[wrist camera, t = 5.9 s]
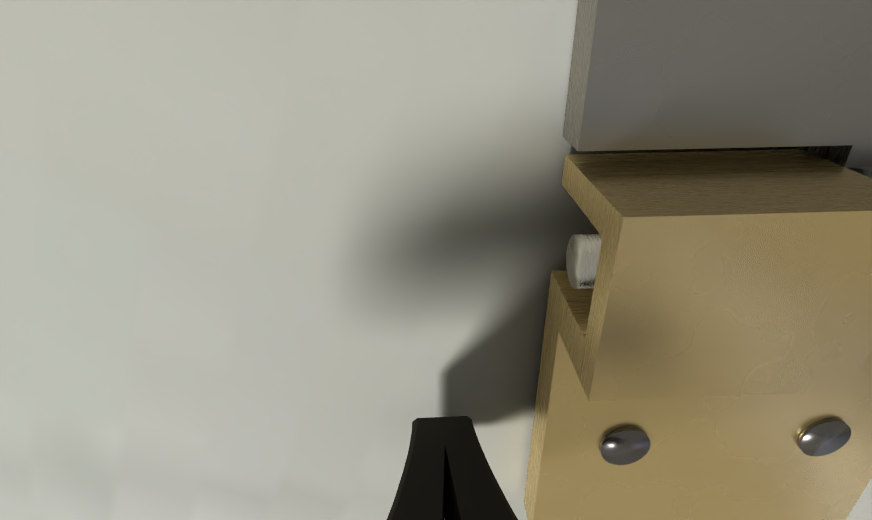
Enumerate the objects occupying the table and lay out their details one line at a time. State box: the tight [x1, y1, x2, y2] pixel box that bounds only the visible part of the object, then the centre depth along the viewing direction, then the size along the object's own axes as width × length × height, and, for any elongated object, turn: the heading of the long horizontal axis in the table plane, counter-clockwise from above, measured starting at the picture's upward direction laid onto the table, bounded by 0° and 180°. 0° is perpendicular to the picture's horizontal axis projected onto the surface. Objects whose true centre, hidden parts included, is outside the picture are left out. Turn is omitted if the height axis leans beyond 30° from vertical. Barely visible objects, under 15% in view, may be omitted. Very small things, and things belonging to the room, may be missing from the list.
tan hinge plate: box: [524, 149, 872, 520], centre depth 11 cm, size 10×9×3 cm
